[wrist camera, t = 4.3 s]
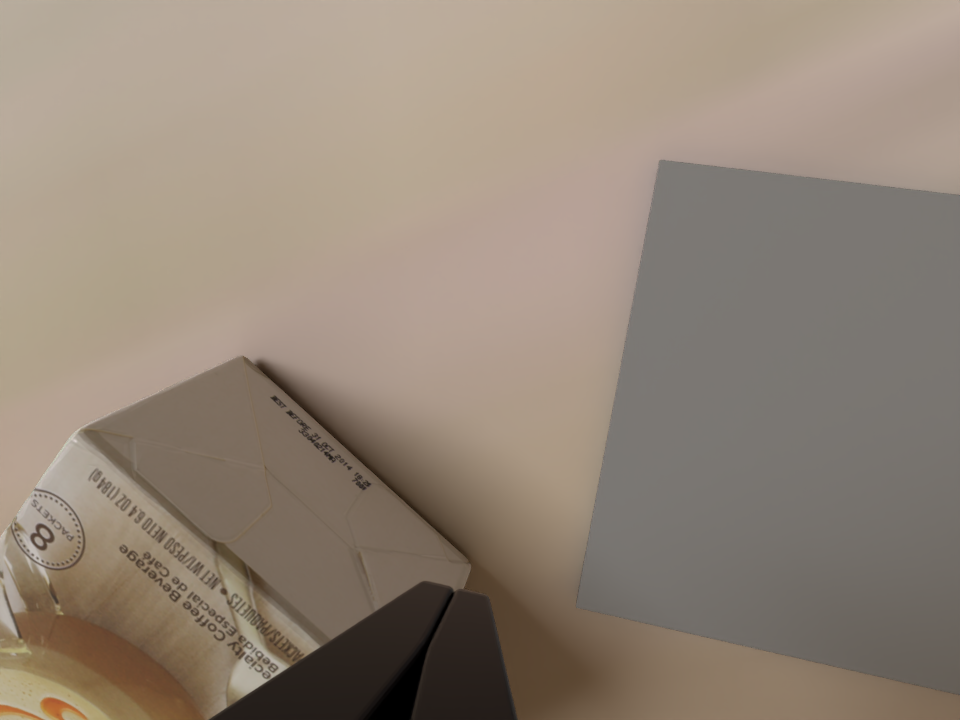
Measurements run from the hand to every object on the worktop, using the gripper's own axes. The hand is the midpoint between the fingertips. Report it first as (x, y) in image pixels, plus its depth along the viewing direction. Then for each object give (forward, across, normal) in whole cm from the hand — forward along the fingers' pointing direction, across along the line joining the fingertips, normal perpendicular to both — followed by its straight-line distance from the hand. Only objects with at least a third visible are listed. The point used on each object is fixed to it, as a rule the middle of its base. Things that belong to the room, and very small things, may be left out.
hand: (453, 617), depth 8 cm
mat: (+10, -8, 0) cm, 12 cm away
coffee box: (+6, +5, +3) cm, 8 cm away
